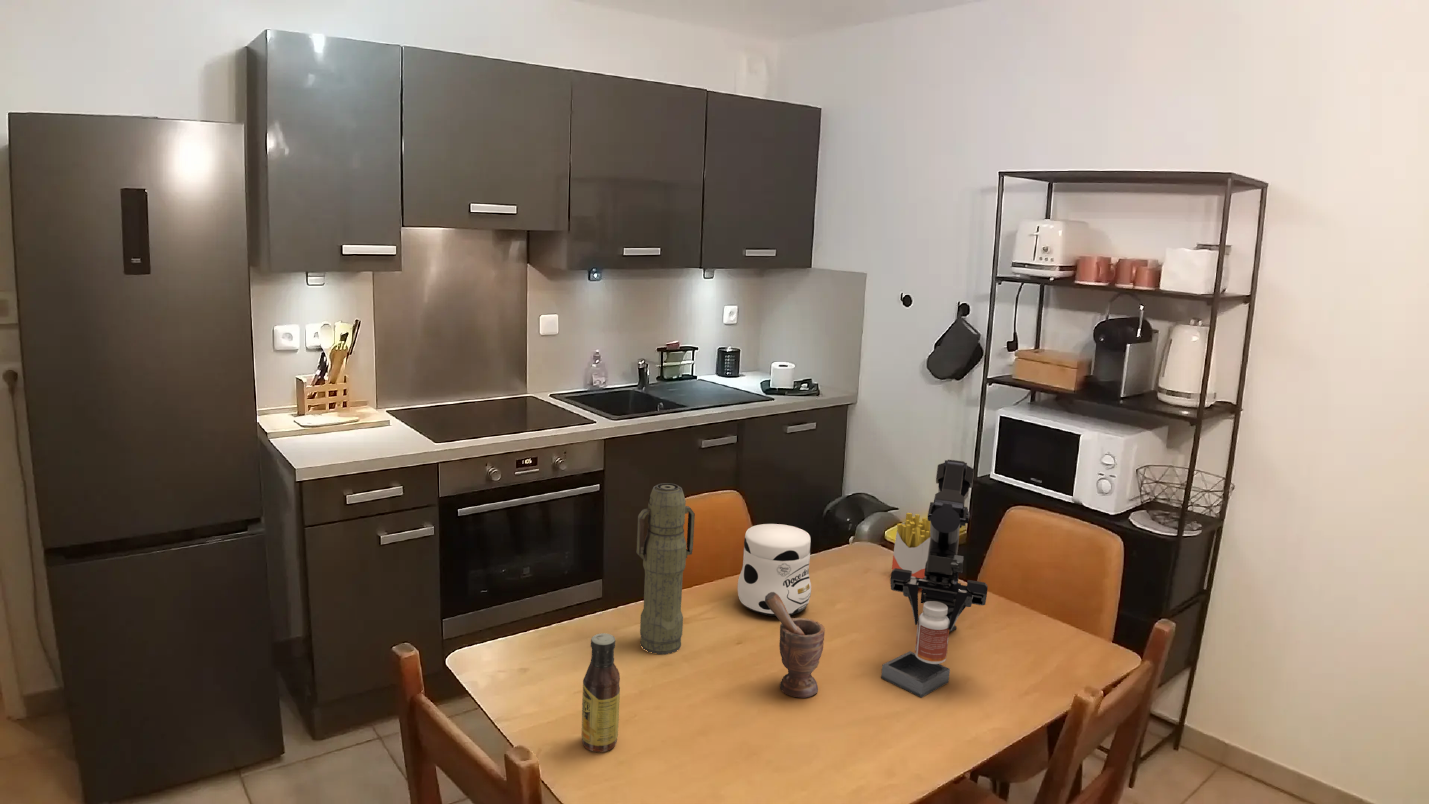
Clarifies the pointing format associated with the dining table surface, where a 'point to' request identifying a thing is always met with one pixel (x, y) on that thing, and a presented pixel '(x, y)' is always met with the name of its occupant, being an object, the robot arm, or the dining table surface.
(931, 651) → the pill bottle
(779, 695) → the dining table surface
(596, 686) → the sauce bottle
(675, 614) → the thermos
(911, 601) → the robot arm
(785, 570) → the milk container
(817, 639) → the mortar and pestle
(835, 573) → the dining table surface
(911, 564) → the french fries container
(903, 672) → the gray open box
